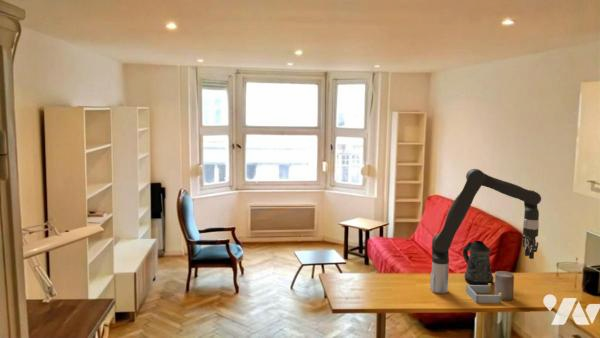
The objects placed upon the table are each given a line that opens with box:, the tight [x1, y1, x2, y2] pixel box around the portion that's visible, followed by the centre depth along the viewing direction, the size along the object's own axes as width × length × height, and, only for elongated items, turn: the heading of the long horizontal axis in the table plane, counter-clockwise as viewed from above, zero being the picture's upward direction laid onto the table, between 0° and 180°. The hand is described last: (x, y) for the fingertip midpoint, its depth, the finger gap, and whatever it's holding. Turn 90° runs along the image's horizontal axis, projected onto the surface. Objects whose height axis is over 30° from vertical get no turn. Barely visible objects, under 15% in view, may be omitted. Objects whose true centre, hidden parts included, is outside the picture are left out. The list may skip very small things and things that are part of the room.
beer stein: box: [462, 240, 494, 286], centre depth 271 cm, size 16×19×25 cm
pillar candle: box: [493, 270, 515, 302], centre depth 247 cm, size 10×10×15 cm
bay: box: [465, 283, 502, 304], centre depth 248 cm, size 14×15×5 cm
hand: (529, 257), depth 245 cm, fingers open, 4 cm apart
